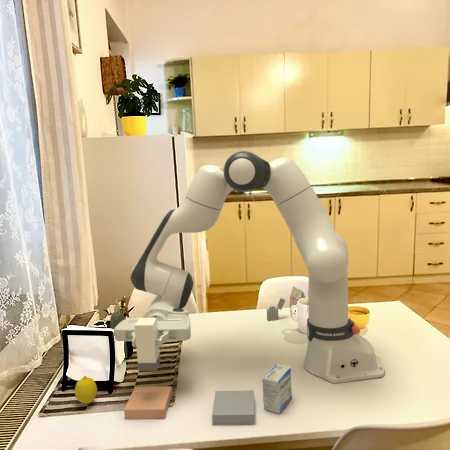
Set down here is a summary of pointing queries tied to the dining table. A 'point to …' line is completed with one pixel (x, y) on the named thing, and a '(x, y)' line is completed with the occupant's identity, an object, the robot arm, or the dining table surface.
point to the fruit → (85, 390)
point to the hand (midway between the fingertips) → (146, 343)
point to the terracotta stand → (148, 403)
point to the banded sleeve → (147, 344)
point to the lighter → (274, 311)
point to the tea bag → (296, 296)
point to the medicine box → (277, 388)
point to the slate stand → (233, 407)
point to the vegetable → (117, 319)
